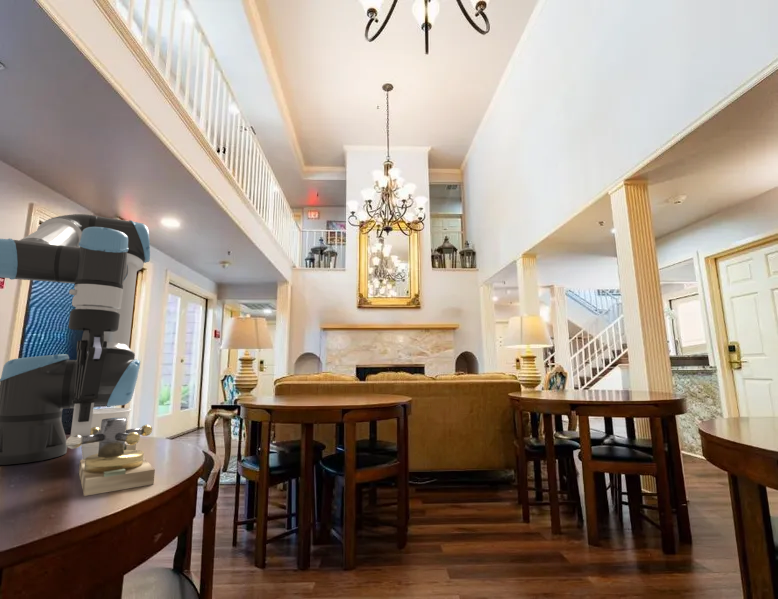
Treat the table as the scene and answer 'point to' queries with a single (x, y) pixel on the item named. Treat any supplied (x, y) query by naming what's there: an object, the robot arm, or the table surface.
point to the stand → (116, 477)
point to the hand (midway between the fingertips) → (79, 440)
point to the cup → (96, 422)
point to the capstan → (111, 445)
